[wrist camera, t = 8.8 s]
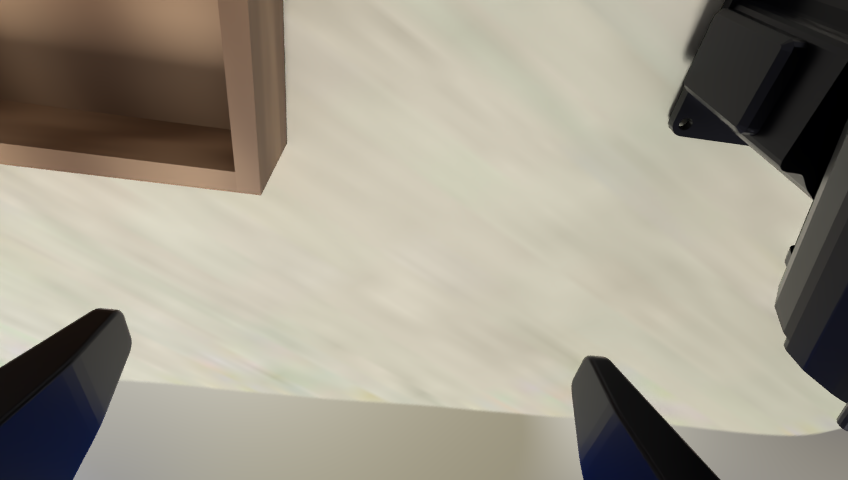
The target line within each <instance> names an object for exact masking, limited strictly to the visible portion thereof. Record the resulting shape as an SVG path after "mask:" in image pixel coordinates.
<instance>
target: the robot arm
mask: <svg viewBox="0 0 848 480" xmlns="http://www.w3.org/2000/svg"><path fill="white" fill-rule="evenodd" d="M683 84H684V89H683V91H682V93H681V95H680V97H679V99H678V101H677V103H676V105H675V108H674V110H673V112H672V114H671V116H670V118H669V122H668V125H669V128H670V129H671V130H672V131H673V132H674V133H675V134H676V135H678V136H683V137H690V138H697V139H704V140H711V141H718V142H726V143H733V144H740V145H747V146H750V147H751V148H753V149H754V150H755V151H756V152H757V153H759V154H760V155H761V156H762V157H763V158H764V159H766V160H767V161H768V162H769V163H770V164H771V165H773V166H774V167H775V168H776V169H777V170H779V171H780V172H781V173H782V174H783V175H784V176H786V177H787V178H788V179H789V180H790V181H791V182H793V183H794V184H795V185H796V186H797V187H799V188H800V189H801V190H802V191H803V192H804V193H806V194H807V195H808V196H809V197H810V198H811V199H813V202H812V205H811V207H810V210H809V212H808V214H807V217H806V219H805V222H804V224H803V227H802V229H801V231H800V234H799V236H798V239H797V241H796V244H795V245H793V246H791V247H790V249H789V251H788V254H787V256H786V259H785V263H786V270H785V272H784V275H783V277H782V279H781V282H780V284H779V288H778V293H777V298H776V302H775V309H776V312H777V315H778V318H779V321H780V324H781V327H782V330H783V332H784V334H785V335H786V337H787V338H786V340H785V342H784V347H785V349H786V351H787V352H788V353H789V354H790V355H791V357H792V358H793V359H794V360H795V361H796V362H797V364H798V365H799V366H800V367H801V368H802V369H803V370H804V371H805V372H806V373H807V374H808V375H809V376H811V377H812V378H813V379H814V380H816V381H817V382H818V383H819V384H820V385H822V386H823V387H824V388H825V389H826V390H828V391H829V392H830V393H831V394H833V395H834V396H836V397H837V398H839V399H840V400H842V401H843V402H845V403H847V404H846V406H845V407H844V409H843V410H842V412H841V413H840V415H839V416H838V418H837V423H838V425H839V426H840V427H841V428H843V429H844V430H846V431H848V0H725V2H724V4H723V6H722V8H721V10H720V11H719V12H718V13H716V14H715V16H714V18H713V20H712V22H711V24H710V26H709V28H708V30H707V32H706V35H705V37H704V39H703V41H702V43H701V45H700V47H699V50H698V52H697V54H696V56H695V58H694V60H693V62H692V64H691V67H690V69H689V71H688V73H687V75H686V77H685V79H684V82H683ZM685 118H688V121H687V122H686V124H684V125H682V126H679V123H680V122H681V121H682V120H683V119H685ZM131 344H132V341H131V336H130V333H129V330H128V327H127V324H126V321H125V317H124V315H123V313H122V312H121V311H120V310H114V309H104V308H98V309H95V310H92V311H91V312H89V313H87V314H86V315H84V316H83V317H81V318H79V319H78V320H76V321H75V322H73V323H71V324H70V325H68V326H66V327H65V328H63V329H62V330H60V331H58V332H57V333H55V334H54V335H52V336H50V337H49V338H47V339H46V340H44V341H42V342H41V343H39V344H38V345H36V346H34V347H33V348H31V349H29V350H28V351H26V352H25V353H23V354H21V355H20V356H18V357H17V358H15V359H13V360H12V361H10V362H9V363H7V364H5V365H4V366H2V367H0V480H73V478H74V476H75V474H76V472H77V471H78V469H79V467H80V465H81V463H82V461H83V459H84V457H85V455H86V453H87V452H88V450H89V448H90V446H91V444H92V442H93V440H94V438H95V436H96V434H97V432H98V430H99V428H100V426H101V424H102V421H103V419H104V417H105V414H106V412H107V409H108V407H109V404H110V401H111V399H112V396H113V394H114V391H115V388H116V386H117V384H118V381H119V378H120V376H121V373H122V371H123V368H124V366H125V363H126V361H127V358H128V356H129V353H130V350H131ZM572 399H573V408H574V417H575V425H576V434H577V441H578V442H577V443H578V451H579V458H580V465H581V470H582V475H583V479H584V480H720V479H719V478H718V477H717V476H716V474H714V472H713V471H712V470H711V469H710V468H709V467H708V466H707V465H706V464H705V463H704V462H703V460H702V459H701V458H700V457H699V456H698V455H697V454H696V453H695V452H694V451H693V450H692V448H691V447H690V446H689V445H688V444H687V443H686V442H685V441H684V440H683V439H682V438H681V437H680V435H679V434H678V433H677V432H676V431H675V430H674V429H673V428H672V427H671V426H670V425H669V424H668V423H667V421H666V420H665V419H664V418H663V417H662V416H661V415H660V414H659V413H658V412H657V411H656V410H655V408H654V407H653V406H652V405H651V404H650V403H649V402H648V401H647V400H646V399H645V398H644V397H643V395H642V394H641V393H640V392H639V391H638V390H637V389H636V388H635V387H634V386H633V385H632V384H631V382H630V381H629V380H628V379H627V378H626V377H625V376H624V375H623V374H622V373H621V372H620V371H619V369H618V368H617V367H616V366H615V365H614V364H613V363H612V362H611V361H610V360H609V359H608V358H606V357H600V356H587V357H585V358H584V360H583V361H582V363H581V365H580V367H579V369H578V371H577V373H576V375H575V377H574V379H573V381H572Z"/></svg>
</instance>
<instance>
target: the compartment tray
mask: <svg viewBox="0 0 848 480" xmlns="http://www.w3.org/2000/svg"><path fill="white" fill-rule="evenodd" d="M286 144H287V130H286V95H285V59H284V23H283V0H0V164H5V165H13V166H21V167H30V168H38V169H46V170H55V171H63V172H71V173H80V174H88V175H96V176H105V177H113V178H121V179H130V180H138V181H147V182H155V183H163V184H172V185H180V186H188V187H197V188H205V189H213V190H222V191H230V192H238V193H247V194H255V195H261V194H262V192H263V190H264V188H265V186H266V184H267V182H268V180H269V178H270V176H271V174H272V172H273V170H274V168H275V166H276V164H277V162H278V160H279V158H280V156H281V154H282V152H283V150H284V148H285V146H286Z"/></svg>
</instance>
